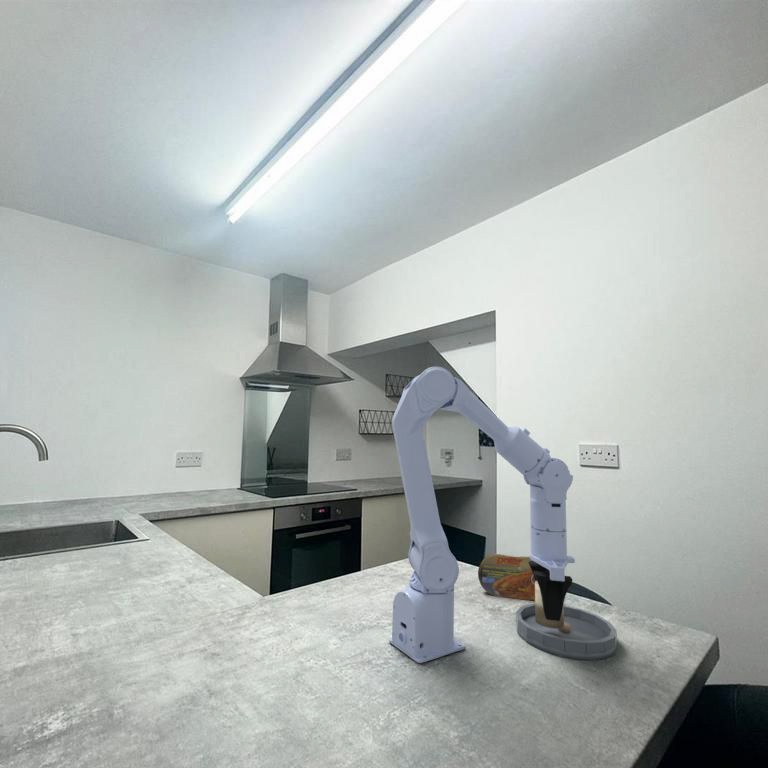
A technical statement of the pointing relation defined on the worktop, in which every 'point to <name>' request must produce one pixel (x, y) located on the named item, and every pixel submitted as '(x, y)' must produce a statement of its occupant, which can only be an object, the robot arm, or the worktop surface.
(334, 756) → the worktop surface
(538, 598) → the beige cylinder
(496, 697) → the worktop surface
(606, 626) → the round tray
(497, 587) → the tin
